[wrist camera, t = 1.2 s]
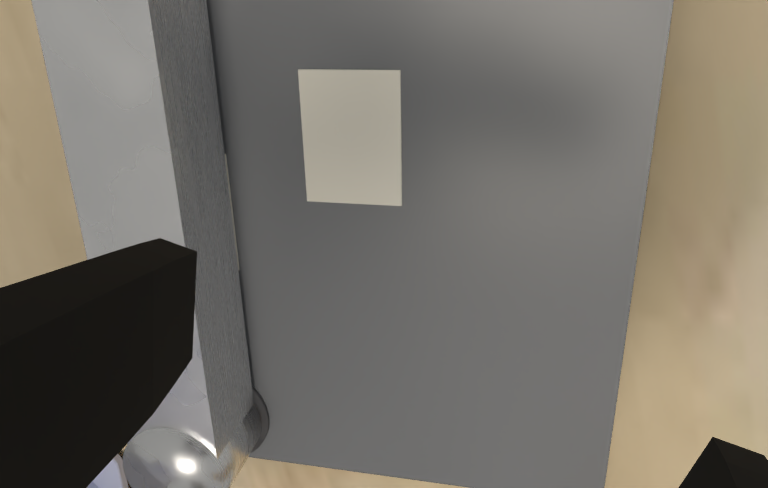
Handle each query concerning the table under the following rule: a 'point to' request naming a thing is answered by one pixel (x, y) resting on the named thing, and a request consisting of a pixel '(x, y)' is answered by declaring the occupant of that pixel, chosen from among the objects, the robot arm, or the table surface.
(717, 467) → the robot arm
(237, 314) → the swing arm
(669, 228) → the table surface
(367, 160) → the label plate
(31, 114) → the table surface
